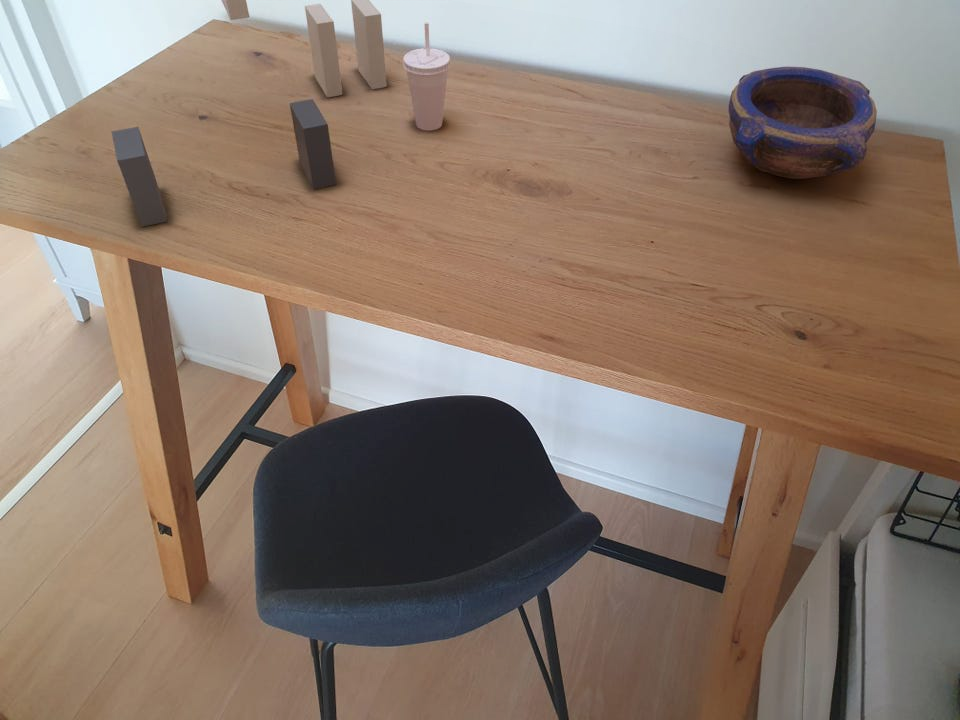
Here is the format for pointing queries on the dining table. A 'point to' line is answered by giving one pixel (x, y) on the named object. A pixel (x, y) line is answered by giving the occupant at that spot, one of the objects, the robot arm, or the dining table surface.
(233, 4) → the beige rectangular block
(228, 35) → the dining table surface
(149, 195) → the grey books
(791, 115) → the bowl
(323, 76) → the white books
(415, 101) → the smoothie
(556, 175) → the dining table surface
